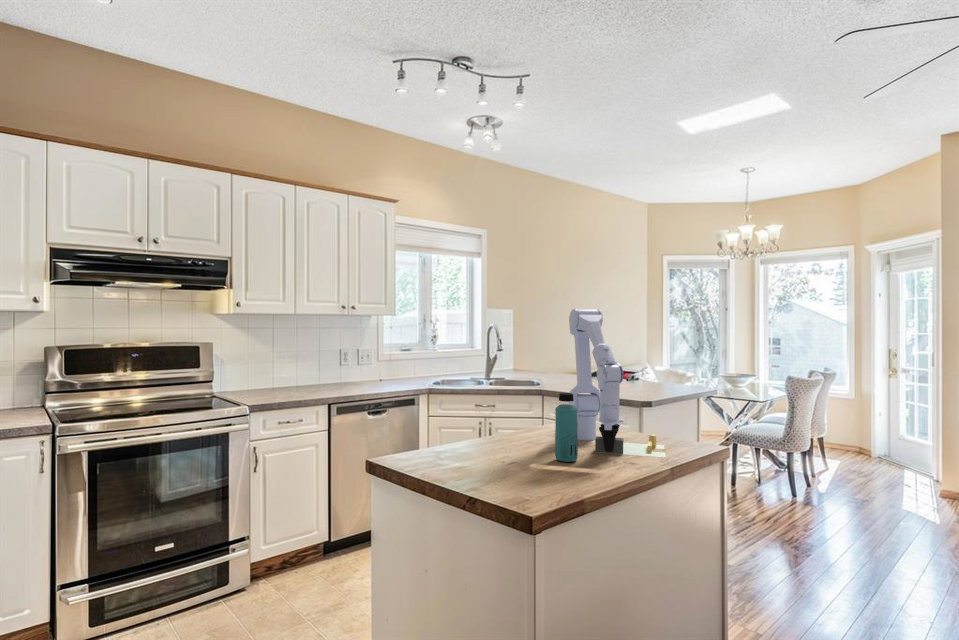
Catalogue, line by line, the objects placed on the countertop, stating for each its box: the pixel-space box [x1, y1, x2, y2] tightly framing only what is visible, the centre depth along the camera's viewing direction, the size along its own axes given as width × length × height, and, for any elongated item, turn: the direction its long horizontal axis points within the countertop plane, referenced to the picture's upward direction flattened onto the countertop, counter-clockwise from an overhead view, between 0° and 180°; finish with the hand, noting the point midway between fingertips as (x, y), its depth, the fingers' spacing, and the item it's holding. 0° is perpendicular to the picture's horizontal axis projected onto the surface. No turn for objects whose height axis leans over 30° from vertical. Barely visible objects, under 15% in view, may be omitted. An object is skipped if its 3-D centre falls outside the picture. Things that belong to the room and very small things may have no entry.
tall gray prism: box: [594, 435, 624, 455], centre depth 166 cm, size 8×4×4 cm, turn 73°
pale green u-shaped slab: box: [594, 434, 667, 459], centre depth 171 cm, size 20×16×4 cm
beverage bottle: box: [554, 392, 579, 462], centre depth 156 cm, size 6×7×20 cm
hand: (609, 449), depth 166 cm, fingers closed on tall gray prism, 3 cm apart
